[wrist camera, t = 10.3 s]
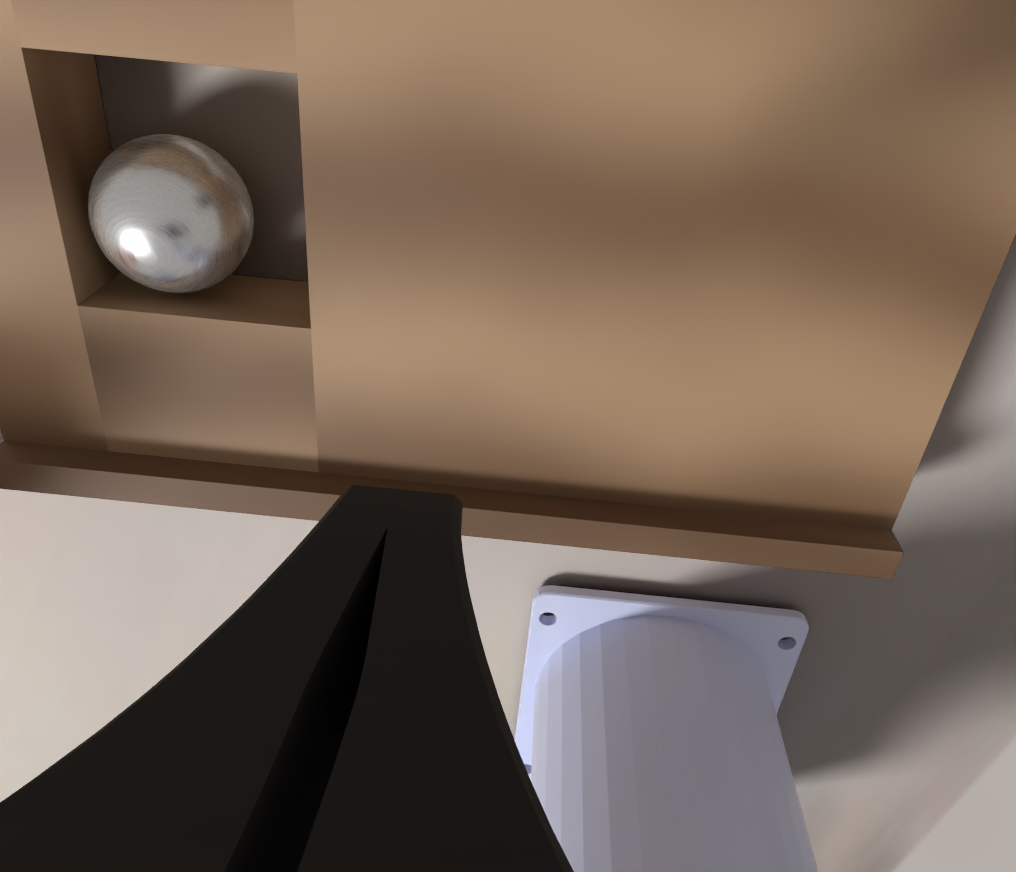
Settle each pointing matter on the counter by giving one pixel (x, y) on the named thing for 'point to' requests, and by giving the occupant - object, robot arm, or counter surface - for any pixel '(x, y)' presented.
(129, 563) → the counter surface
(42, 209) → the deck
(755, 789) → the robot arm
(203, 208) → the ball
